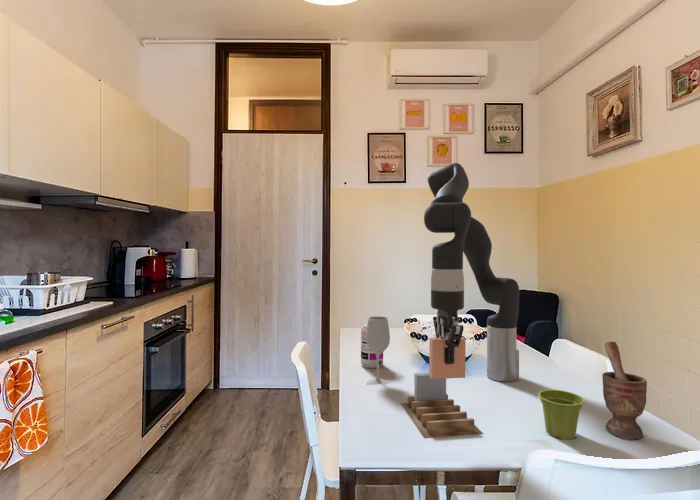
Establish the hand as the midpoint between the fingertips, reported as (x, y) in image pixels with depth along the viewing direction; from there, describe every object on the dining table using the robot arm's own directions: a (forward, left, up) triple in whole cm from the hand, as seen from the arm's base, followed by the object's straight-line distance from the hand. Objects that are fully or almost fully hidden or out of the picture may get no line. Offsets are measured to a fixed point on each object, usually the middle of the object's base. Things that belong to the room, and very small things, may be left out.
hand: (447, 361), depth 95 cm
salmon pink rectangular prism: (0, 0, -4) cm, 4 cm away
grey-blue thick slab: (0, -12, -15) cm, 19 cm away
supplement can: (+7, -56, -17) cm, 59 cm away
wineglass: (+9, -36, -17) cm, 41 cm away
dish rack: (0, -6, -17) cm, 18 cm away
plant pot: (-26, +4, -17) cm, 31 cm away
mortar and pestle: (-41, +4, -17) cm, 45 cm away
